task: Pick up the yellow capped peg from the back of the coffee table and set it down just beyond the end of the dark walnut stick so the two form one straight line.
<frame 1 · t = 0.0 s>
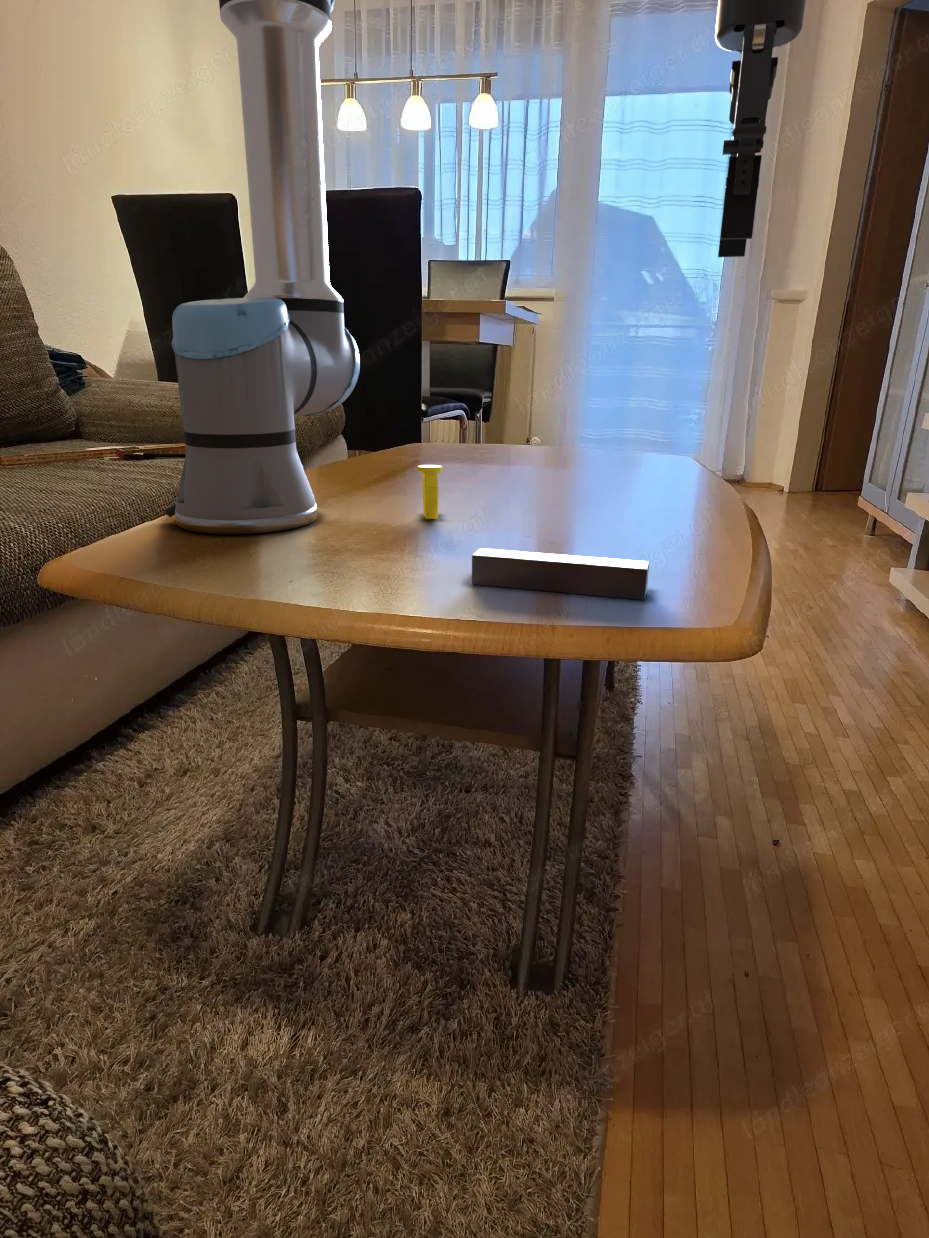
hand: (733, 249, 75), 28 cm above the table, tool pointing down, fingers open, 13 cm apart
walnut stick: (558, 587, 62), on the table
yellow capped peg: (430, 519, 88), on the table
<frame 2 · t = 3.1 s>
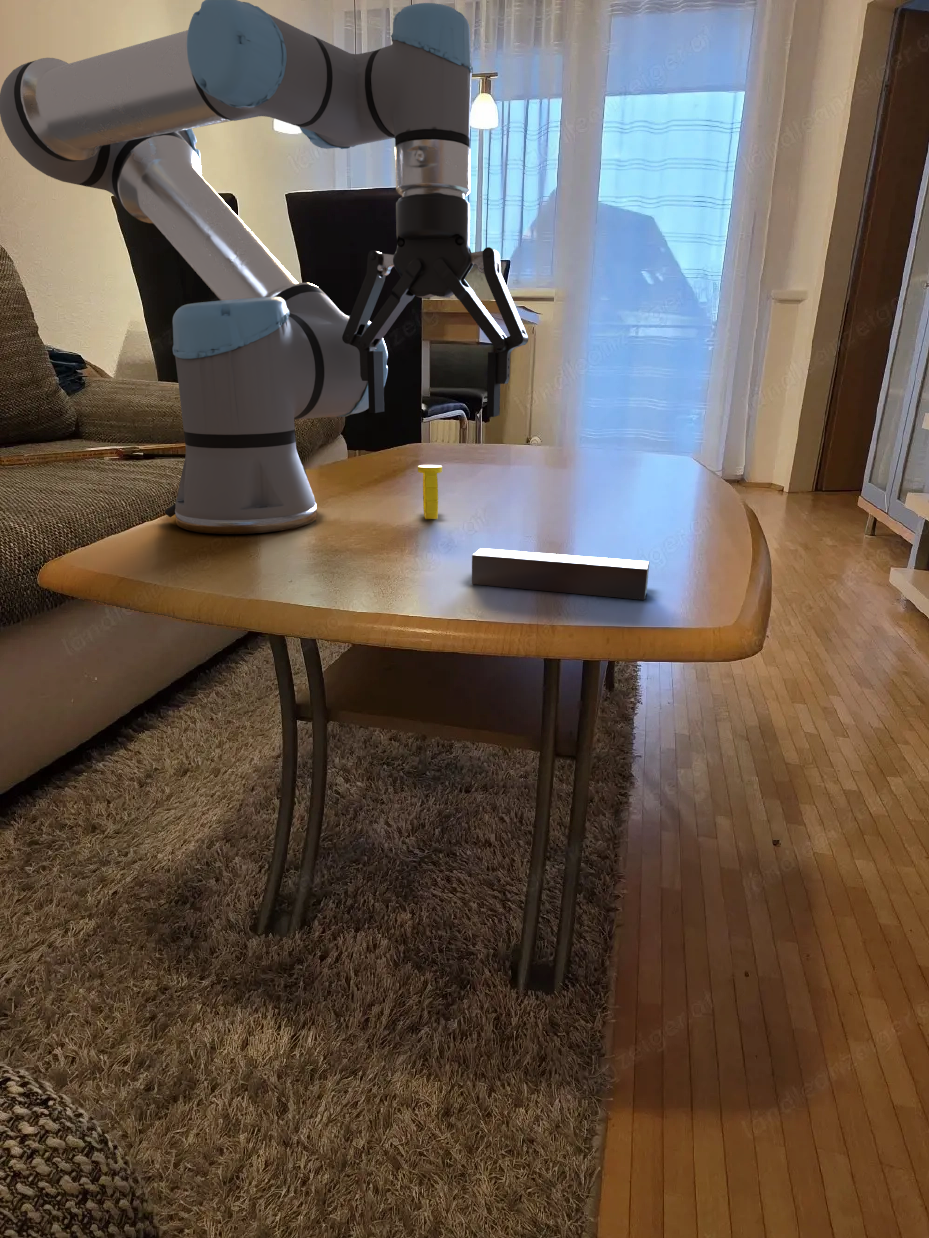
hand: (433, 414, 84), 12 cm above the table, tool pointing down, fingers open, 13 cm apart
nothing on the table moved.
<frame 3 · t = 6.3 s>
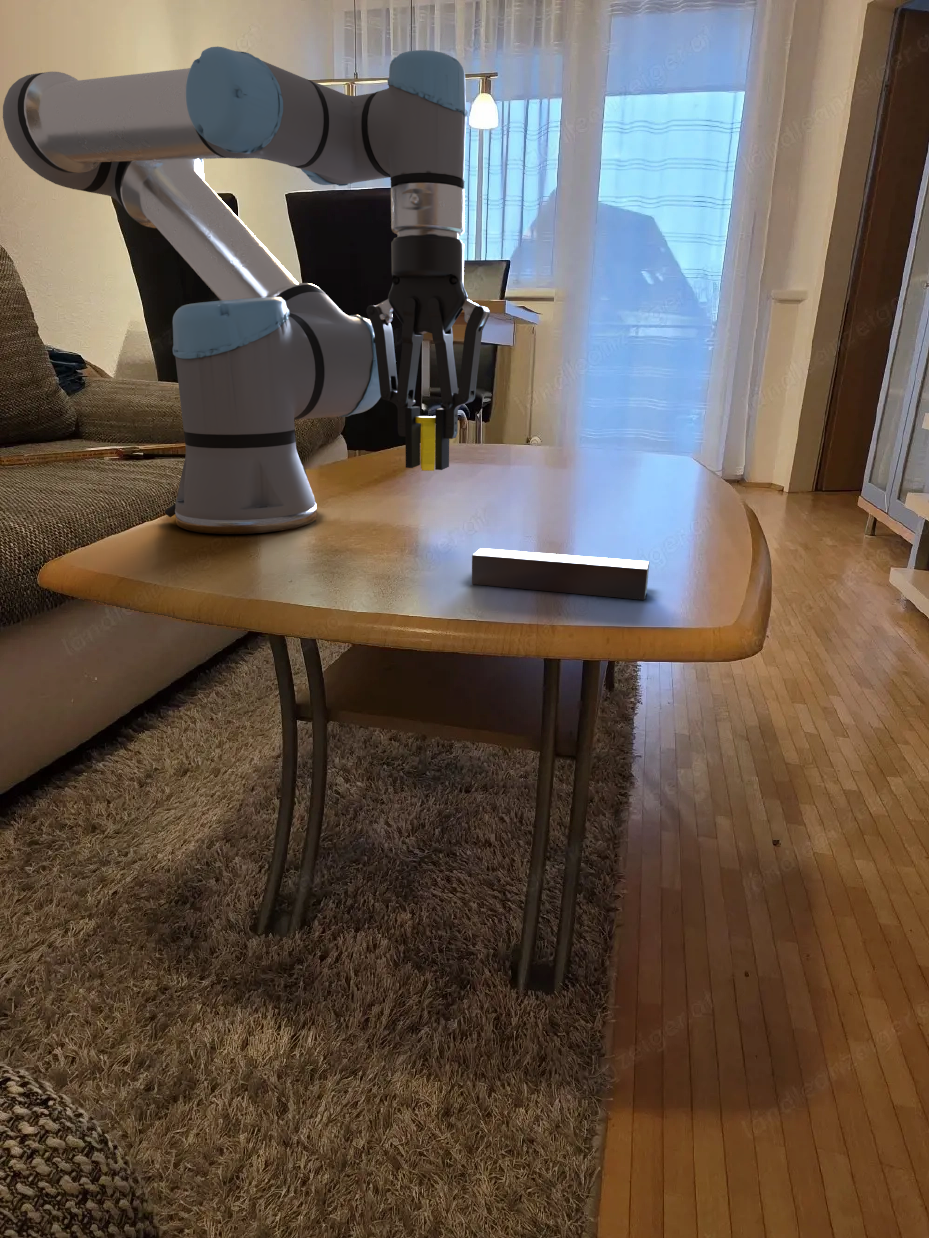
hand: (427, 466, 86), 6 cm above the table, tool pointing down, fingers closed on yellow capped peg, 3 cm apart
yellow capped peg: (427, 472, 86), point 5 cm above the table, touching gripper
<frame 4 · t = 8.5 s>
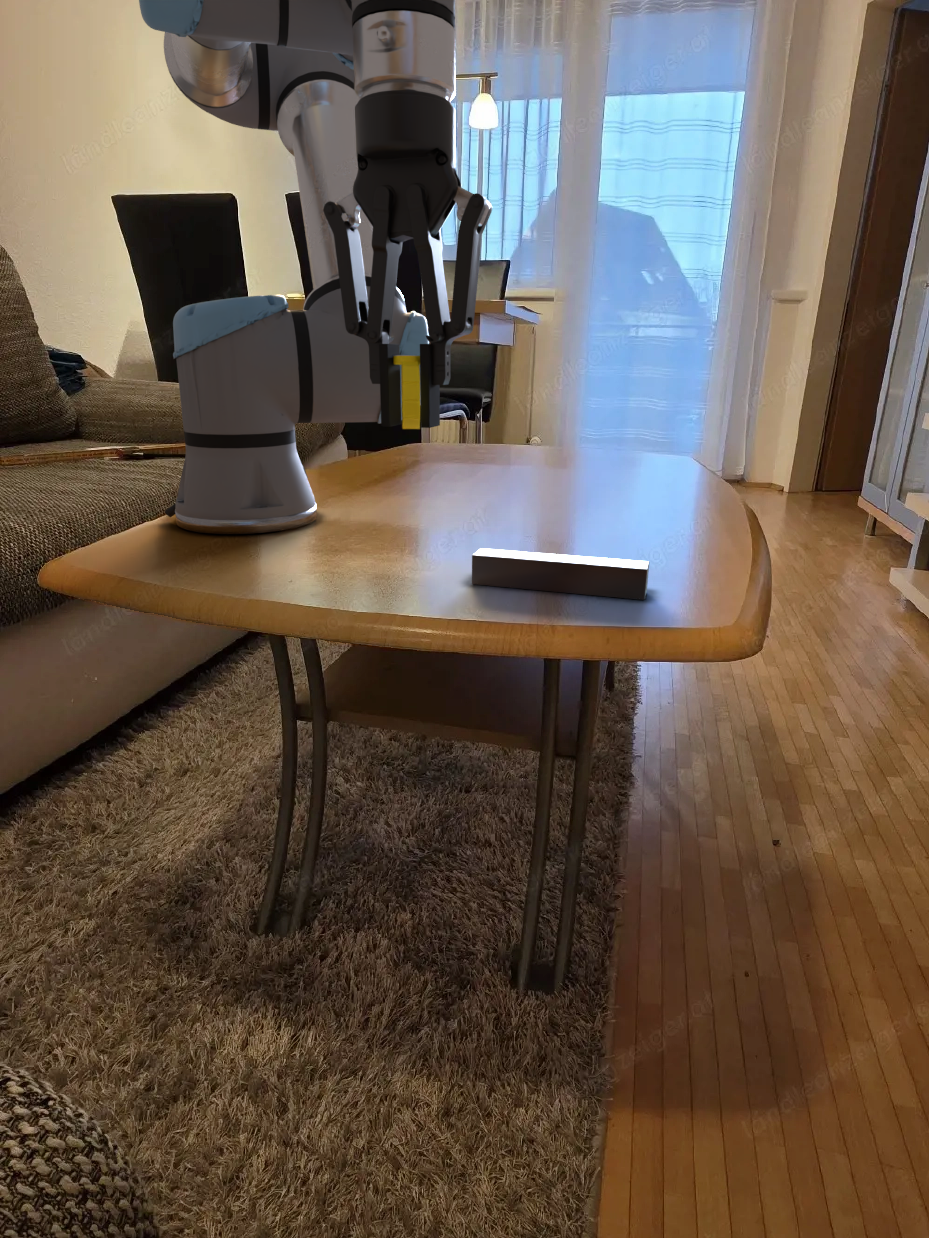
hand: (410, 425, 64), 12 cm above the table, tool pointing down, fingers closed on yellow capped peg, 3 cm apart
yellow capped peg: (410, 432, 64), point 12 cm above the table, touching gripper
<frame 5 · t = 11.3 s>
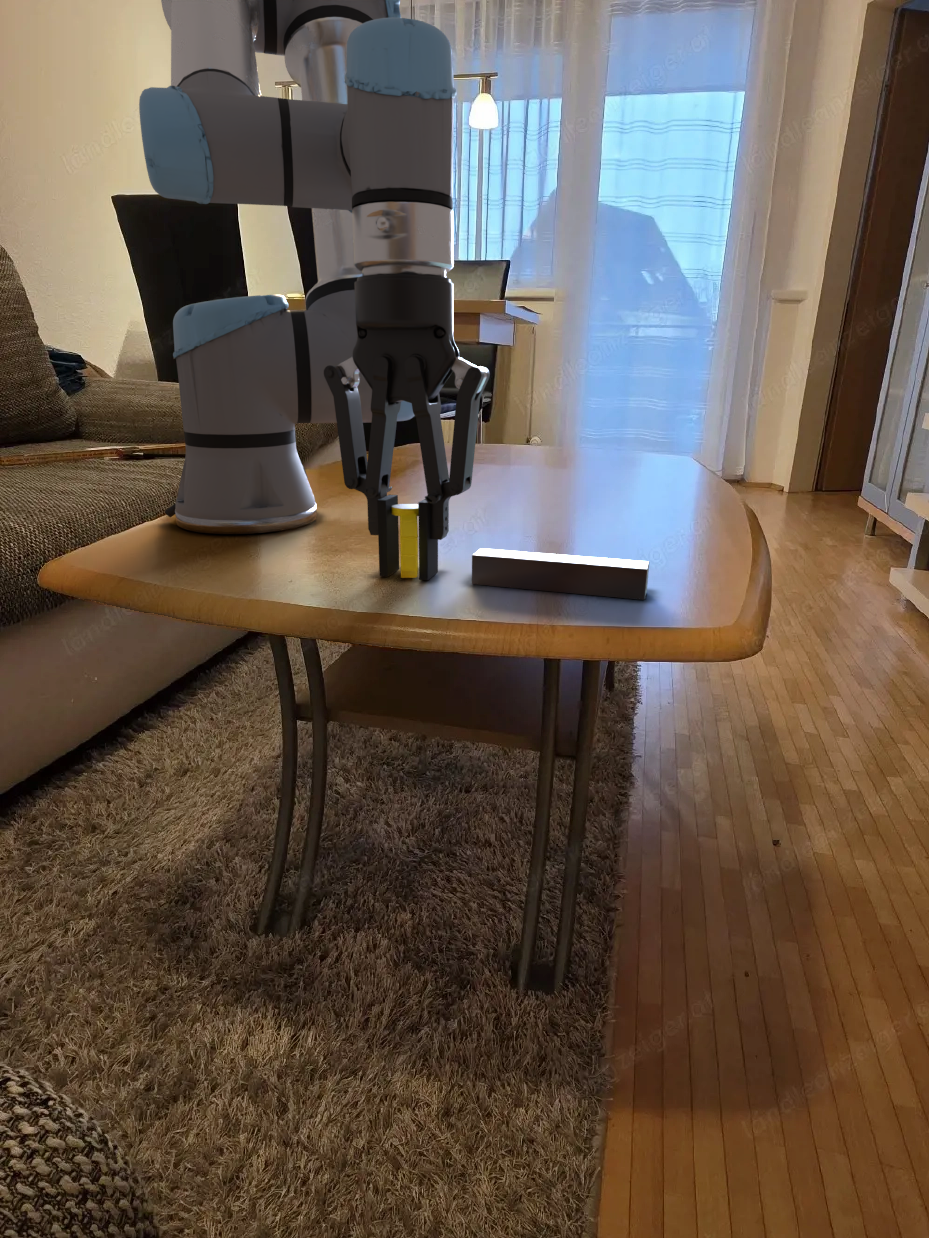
hand: (409, 573, 65), 0 cm above the table, tool pointing down, fingers open, 3 cm apart
yellow capped peg: (408, 577, 65), on the table, touching gripper
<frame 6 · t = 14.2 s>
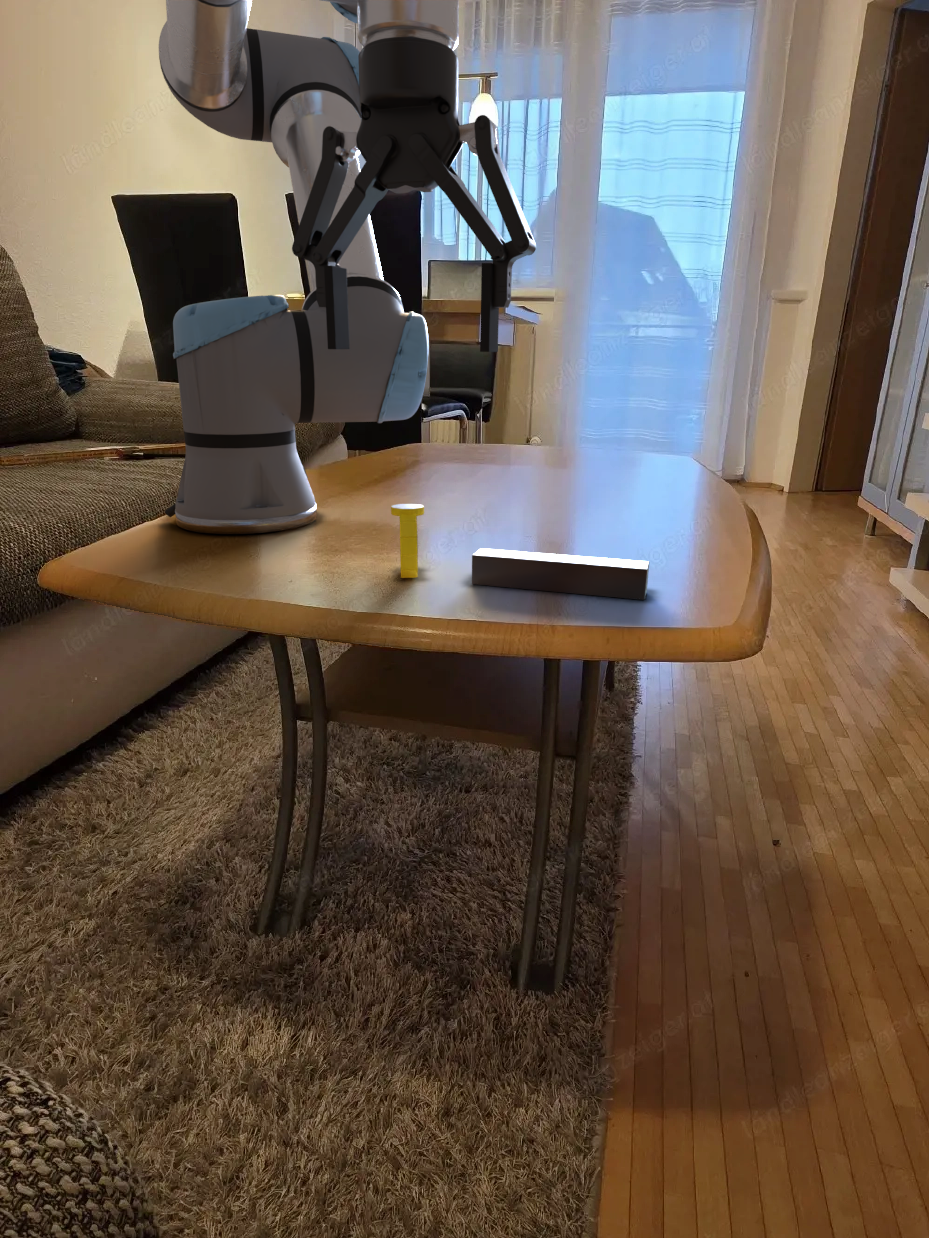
hand: (411, 351, 64), 18 cm above the table, tool pointing down, fingers open, 13 cm apart
yellow capped peg: (409, 577, 65), on the table
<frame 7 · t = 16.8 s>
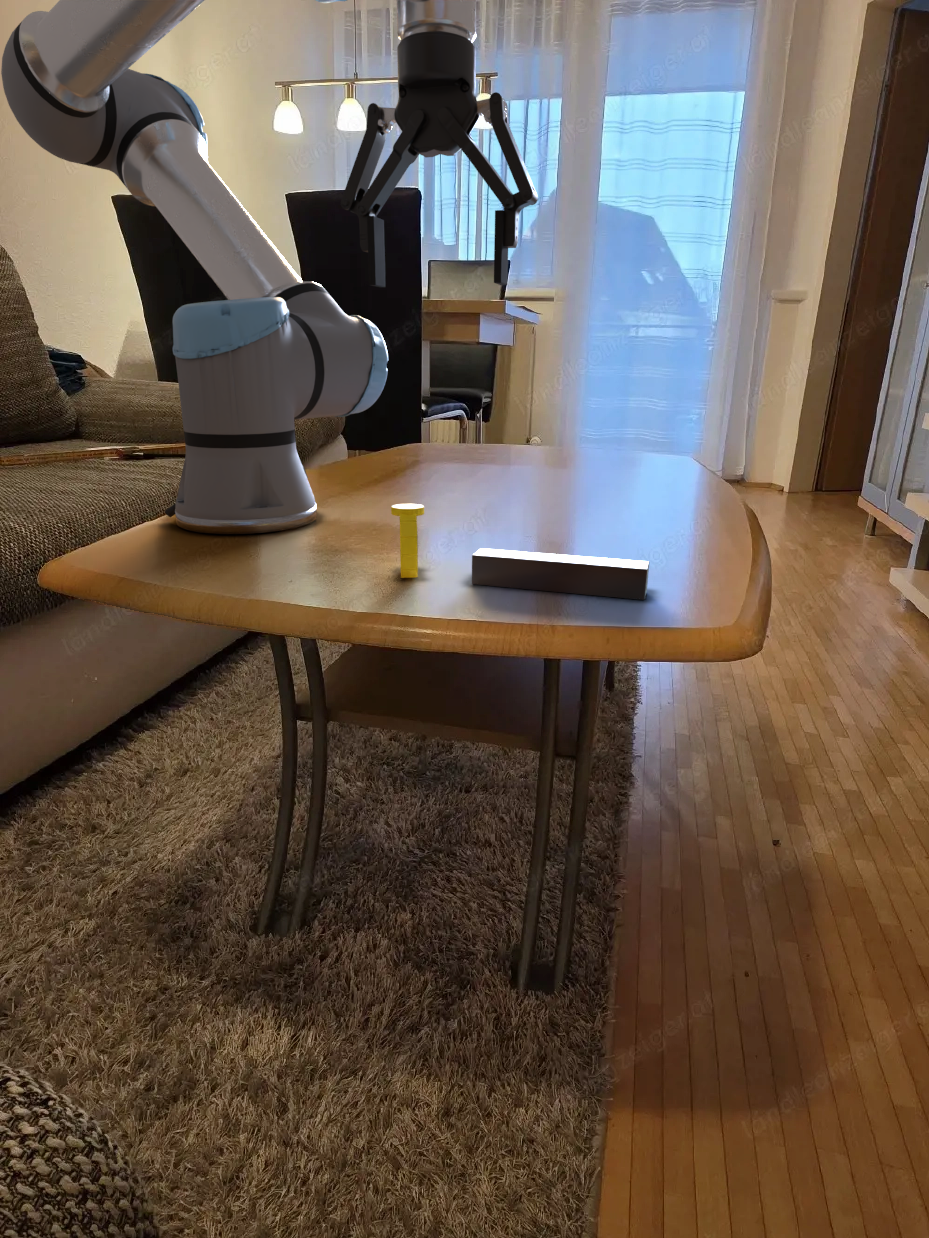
hand: (437, 285, 79), 25 cm above the table, tool pointing down, fingers open, 13 cm apart
nothing on the table moved.
at the end: yellow capped peg 0.4 cm from the target spot on the table beside the walnut stick, on the table; yellow capped peg tilted 0°; the gripper is holding nothing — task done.
